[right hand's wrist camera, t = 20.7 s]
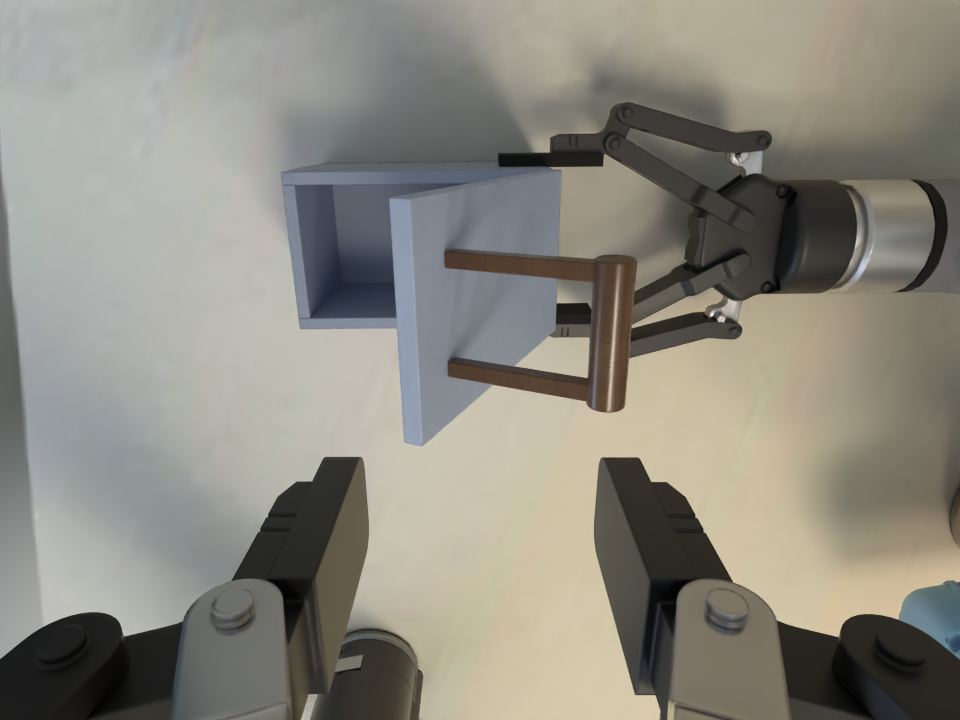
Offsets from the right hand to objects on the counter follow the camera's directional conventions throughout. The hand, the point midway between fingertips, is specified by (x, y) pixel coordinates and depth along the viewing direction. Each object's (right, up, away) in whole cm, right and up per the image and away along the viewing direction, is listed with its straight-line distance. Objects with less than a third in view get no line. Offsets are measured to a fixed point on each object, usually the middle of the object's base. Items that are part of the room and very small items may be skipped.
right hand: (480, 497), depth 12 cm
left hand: (+1, +11, +29) cm, 31 cm away
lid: (0, +7, +17) cm, 19 cm away
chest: (-4, +13, +34) cm, 37 cm away
